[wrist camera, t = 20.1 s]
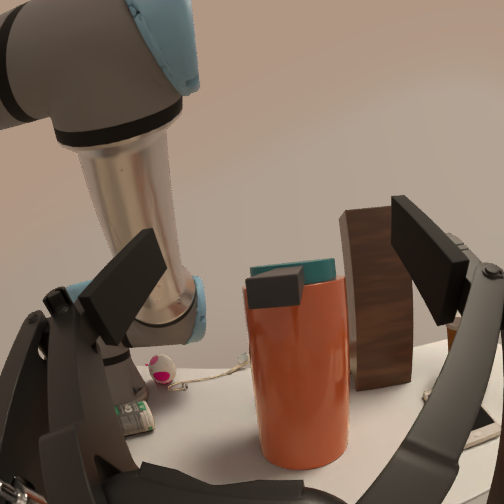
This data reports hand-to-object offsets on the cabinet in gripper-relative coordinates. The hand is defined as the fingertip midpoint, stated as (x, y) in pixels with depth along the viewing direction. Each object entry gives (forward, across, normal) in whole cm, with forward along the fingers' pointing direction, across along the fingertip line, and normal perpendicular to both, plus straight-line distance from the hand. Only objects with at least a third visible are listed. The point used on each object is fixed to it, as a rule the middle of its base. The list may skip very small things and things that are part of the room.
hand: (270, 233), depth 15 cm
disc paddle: (+6, 0, -8) cm, 10 cm away
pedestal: (+1, 0, -29) cm, 29 cm away
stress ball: (+17, -33, -35) cm, 51 cm away
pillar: (+17, +13, -39) cm, 44 cm away
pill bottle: (+4, -22, -28) cm, 36 cm away
